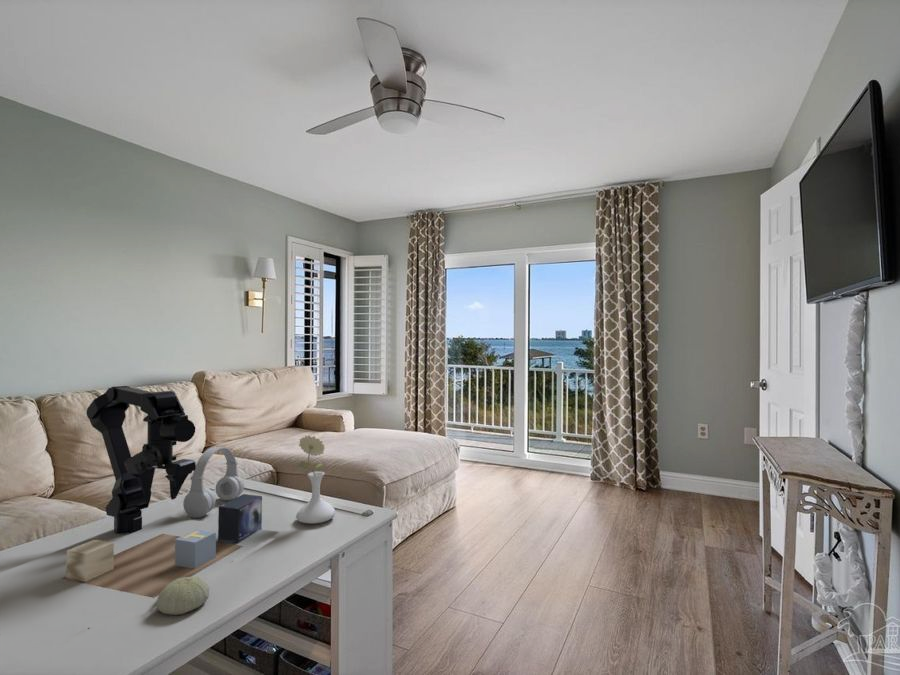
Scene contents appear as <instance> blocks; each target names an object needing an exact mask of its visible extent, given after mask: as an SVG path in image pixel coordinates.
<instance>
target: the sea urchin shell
mask: <svg viewBox="0 0 900 675" xmlns="http://www.w3.org/2000/svg"><path fill="white" fill-rule="evenodd" d="M209 594H210V587H209V586H208V583H207V582H206V581H205V580H203V579H202V578H201V577H199V576H198V577H197V576H191V577H183V578H179V579H176V580H174V581H172V582H171V583H169V584H168V585H167V586H166V587H165V588H164V589H163V590H162V591H161V592H160V594H159V595H158V596H157V599H156V603H155V604H156V608H157V610H158V611H159V612H160V613H163V614H165V615H172V616H173V615H175V616H178V615H184V614H186V613H191V612H192V611H193V610H196V609H199V607H201V606H203V605H204V604H205V603H206V602H207V600H208V599H209V596H210V595H209Z"/></svg>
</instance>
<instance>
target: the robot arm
mask: <svg viewBox="0 0 900 675" xmlns="http://www.w3.org/2000/svg"><path fill="white" fill-rule="evenodd" d="M130 405H132V406H134V407H135V406H136V407H139V409H140V411H141V412H142V413H144V414H147V415H146V416H145V417H144V418H143V419H142V421H143V422H144V423H145V422H147V433H146V435H147V441H146V442H147V443H143V445H142V449H141V451H139V452H137V453H135V454H134V455H132V454H131V451H130V447H129V444H128V442H127V438H126V436H125V435H126V434H125V432H124V429H123V425H124V422H125V420H126V418H127V415H126V411H127V410H129V408H130ZM86 417H87V418H88V421H89V422H90V425H91V427H93V428H94V429H95V430H97V432H99V433H101V435H102V439H103V442H104V446H105V448H106V452H107V455H108V459H109V463H110V466H111V469H112V472H113V476H114V478H115V482H114V485H113V488H112V491H111V497H112V498H111V499H110V500H109V502H108V504H107V505H106V506H105V513H106V515H107V516H109V517H112V518H113V531H114V532H115V534H119V535H121V534H122V535H123V534H133V533H137V532H139V531H141V530H142V529H143V515H142V514H143V513H142V510H144V509H147V508H149V506H150V501H151V498H152V494H153V493H152V486H153V480H154V476H155V471H156V469H158V470H159V469H160V470H165V474H166V475H164V477H165V478H166V479H167V480H168V481H169V493H170V494H169V495H170V499H171V500H175V499H177V496H178V495H179V492H180V491H181V489H182V486H183V484H184V482H185V481H186V479H187V478H188V477H189V474H193V472H194V470H196V464H197V462H196V461H195V460H193V459H186V458H181V459H178V460H177V455H174V454H173V453H174V451H173V449H174V448H173V447H174V446H176V445H177V442H179V443H185V442H188V441H190V440H192V439H193V437H194V436H195V433H196V426H195V424H194V422H193V421H192V420H190V419H189V415H187V414H186V413H185V409H184V407H183V405H182V404H181V402H180V399H179V397H178V396H177V394H176V392H174V391H173V390H165V391H149V390H143V389H140V388H134V387H131V386H128V385H118V386H111V387H109V388H108V389H106V391H105V392H104V393H102V394H101V395H99V396H97V397H96V398H95V399H93V400H92V401H91V403H90V404H89V405H88V407H87V408H86Z"/></svg>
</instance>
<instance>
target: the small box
mask: <svg viewBox="0 0 900 675" xmlns="http://www.w3.org/2000/svg"><path fill="white" fill-rule="evenodd" d="M262 513H263V496H261V495H254V494H247V493H244V494H241V495H240V496H238V497H237V498H234V499H232V500H228V501H227V502H224V503H222V504H221V505H219V506H218V521H217V522H218V523H217V524H218V525H217V527H218V529H217V542H220V543H226V544H239V543H241V542H243V541H245V540H246V539H247V538H249V537H251V536H252V535H254V534H256V533H257V532H259V531H262V529H263V528H262V524H263V522H262V521H263V520H262V518H263V516H262V515H263V514H262Z"/></svg>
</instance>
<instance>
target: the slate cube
mask: <svg viewBox="0 0 900 675" xmlns="http://www.w3.org/2000/svg"><path fill="white" fill-rule="evenodd" d="M216 542H217V532H216V531H209V530H202V529H195V530H192V531H190V532H188V533H186V534H184V535H182V536H180V537H179V538H177V539H175V565H176V566H182V567H187V568H193V569H196V568H198V567H200V566H201V565H203V564H205V563H207V562H208V561H210V560H212V559H214V558H215V557H216Z"/></svg>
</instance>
